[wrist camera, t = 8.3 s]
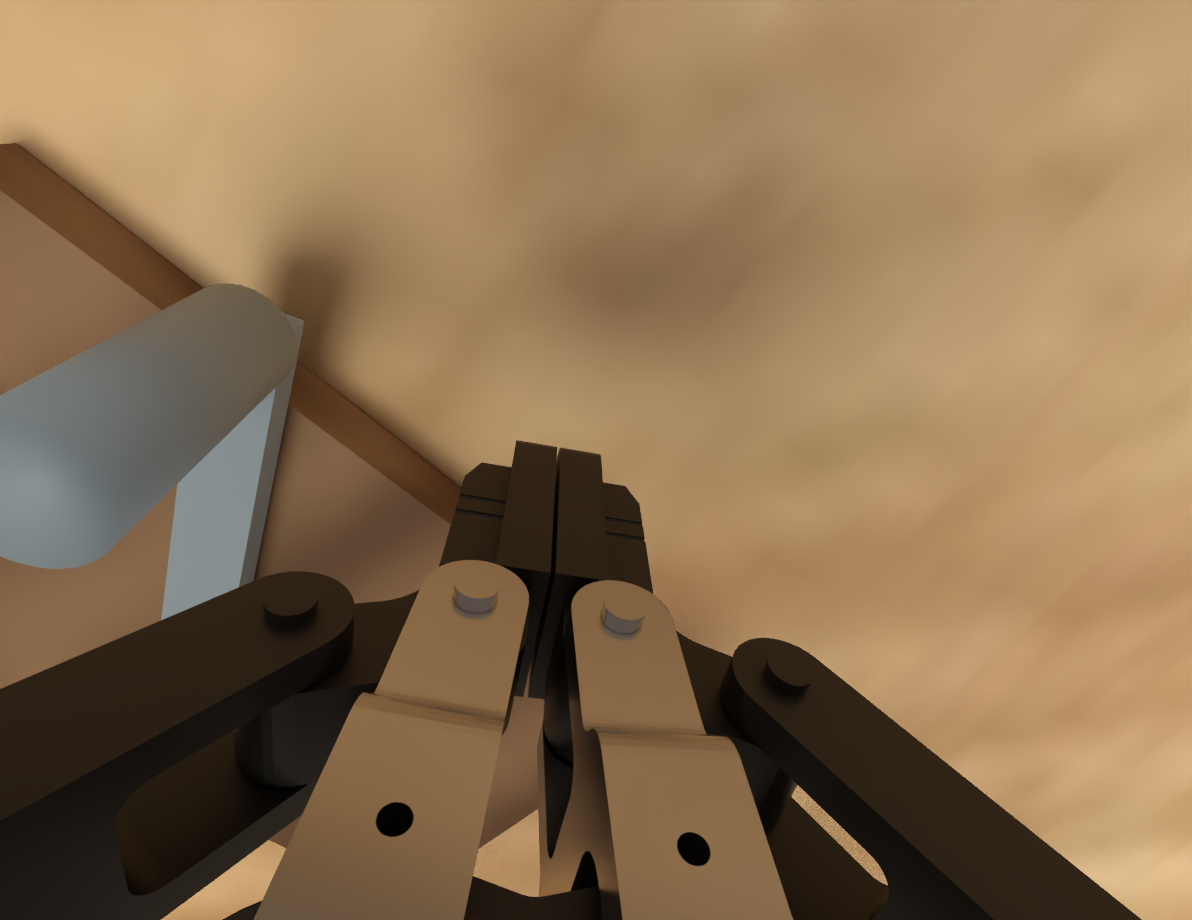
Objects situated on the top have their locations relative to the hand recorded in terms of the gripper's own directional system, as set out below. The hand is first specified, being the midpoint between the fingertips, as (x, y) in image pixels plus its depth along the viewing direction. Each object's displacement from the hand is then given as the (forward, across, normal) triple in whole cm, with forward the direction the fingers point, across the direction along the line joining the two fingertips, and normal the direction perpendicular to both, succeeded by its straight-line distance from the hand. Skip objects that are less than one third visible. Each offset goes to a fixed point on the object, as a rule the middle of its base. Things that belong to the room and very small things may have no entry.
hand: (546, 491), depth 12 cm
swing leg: (+5, +8, +8) cm, 13 cm away
